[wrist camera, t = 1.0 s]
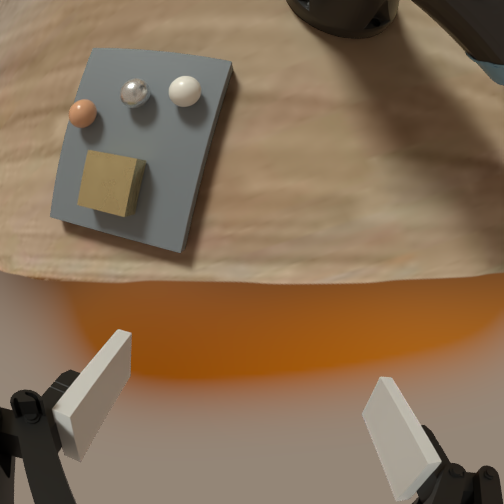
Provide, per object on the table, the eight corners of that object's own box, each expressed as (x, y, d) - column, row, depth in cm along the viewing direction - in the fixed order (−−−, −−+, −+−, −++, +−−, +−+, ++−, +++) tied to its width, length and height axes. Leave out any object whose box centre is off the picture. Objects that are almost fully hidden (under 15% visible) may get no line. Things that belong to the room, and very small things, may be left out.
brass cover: (100, 151, 31) (88, 149, 28) (146, 160, 32) (136, 158, 29) (90, 202, 32) (77, 204, 30) (134, 214, 33) (124, 217, 30)
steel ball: (131, 82, 30) (120, 73, 27) (158, 84, 30) (148, 75, 27) (122, 109, 31) (110, 102, 27) (149, 112, 31) (139, 106, 27)
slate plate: (101, 54, 31) (93, 48, 29) (233, 69, 32) (231, 61, 30) (60, 214, 36) (50, 217, 33) (185, 248, 36) (180, 253, 34)
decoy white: (178, 79, 30) (170, 69, 27) (207, 84, 30) (202, 74, 27) (169, 107, 31) (160, 99, 27) (198, 112, 31) (192, 105, 27)
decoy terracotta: (82, 101, 30) (68, 95, 27) (105, 103, 30) (91, 97, 27) (74, 128, 31) (60, 124, 28) (97, 131, 31) (83, 127, 28)
